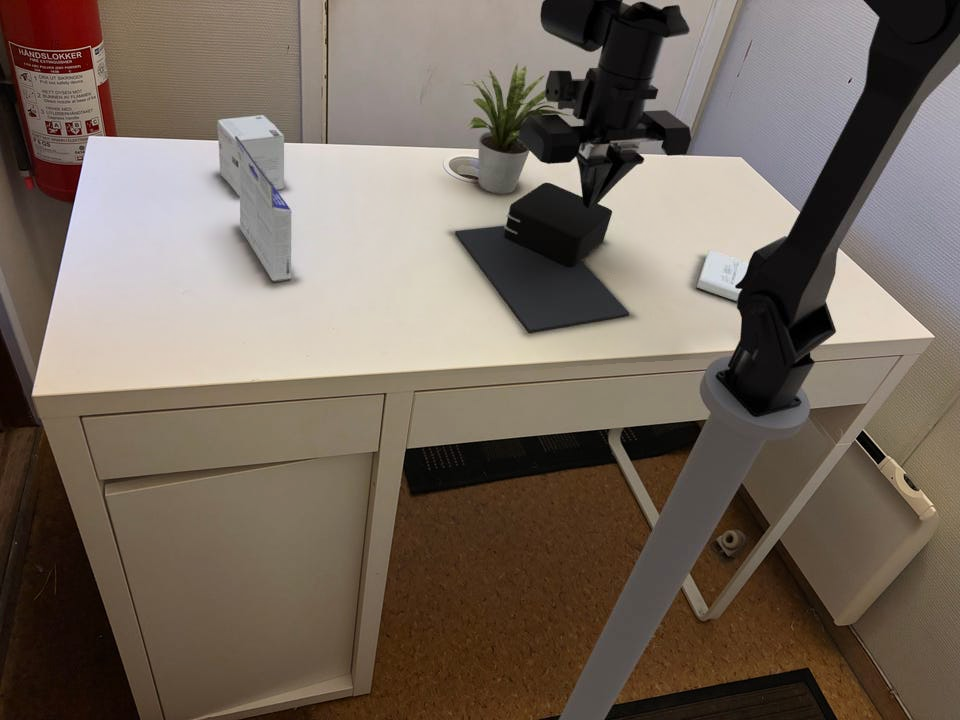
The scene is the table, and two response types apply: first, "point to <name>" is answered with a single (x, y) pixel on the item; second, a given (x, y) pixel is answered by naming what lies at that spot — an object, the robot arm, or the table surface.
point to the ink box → (264, 217)
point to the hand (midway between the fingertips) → (588, 206)
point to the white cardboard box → (251, 148)
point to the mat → (540, 283)
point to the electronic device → (557, 224)
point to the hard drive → (722, 275)
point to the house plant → (505, 132)
